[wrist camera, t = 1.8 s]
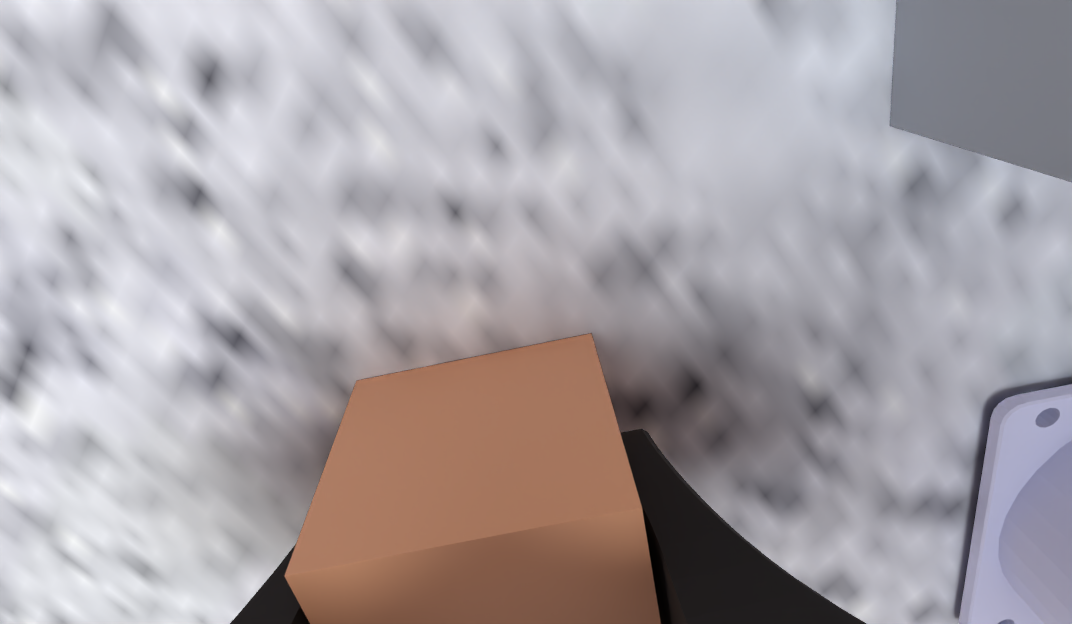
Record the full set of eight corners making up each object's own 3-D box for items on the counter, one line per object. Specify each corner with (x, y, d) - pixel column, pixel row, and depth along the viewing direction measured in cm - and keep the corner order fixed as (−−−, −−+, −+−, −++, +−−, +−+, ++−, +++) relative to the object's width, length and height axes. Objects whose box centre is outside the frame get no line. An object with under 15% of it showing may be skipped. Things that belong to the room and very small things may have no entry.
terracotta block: (591, 333, 13) (641, 507, 8) (623, 511, 15) (677, 724, 11) (356, 380, 13) (284, 576, 9) (421, 550, 15) (391, 774, 11)
